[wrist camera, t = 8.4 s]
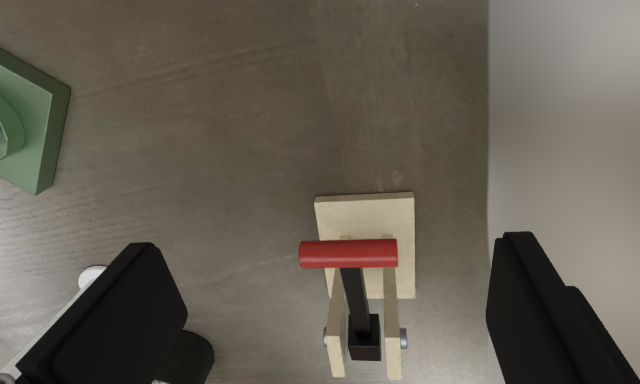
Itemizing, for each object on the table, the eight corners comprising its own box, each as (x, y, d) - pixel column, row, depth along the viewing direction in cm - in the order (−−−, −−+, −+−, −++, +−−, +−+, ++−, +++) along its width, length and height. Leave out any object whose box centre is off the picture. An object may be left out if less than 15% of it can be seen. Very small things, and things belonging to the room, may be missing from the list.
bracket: (315, 196, 34) (286, 295, 23) (413, 191, 32) (432, 295, 21) (330, 290, 39) (313, 406, 28) (414, 290, 38) (430, 413, 27)
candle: (145, 308, 45) (-66, 597, 24) (96, 307, 46) (-148, 580, 25) (124, 265, 42) (-143, 555, 20) (72, 264, 43) (-233, 538, 21)
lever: (301, 228, 19) (295, 266, 18) (395, 224, 18) (398, 265, 17) (334, 328, 29) (333, 359, 27) (398, 329, 28) (400, 362, 26)
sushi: (151, 324, 47) (113, 381, 40) (213, 335, 46) (185, 396, 39) (159, 362, 51) (125, 420, 44) (216, 373, 50) (190, 434, 43)
